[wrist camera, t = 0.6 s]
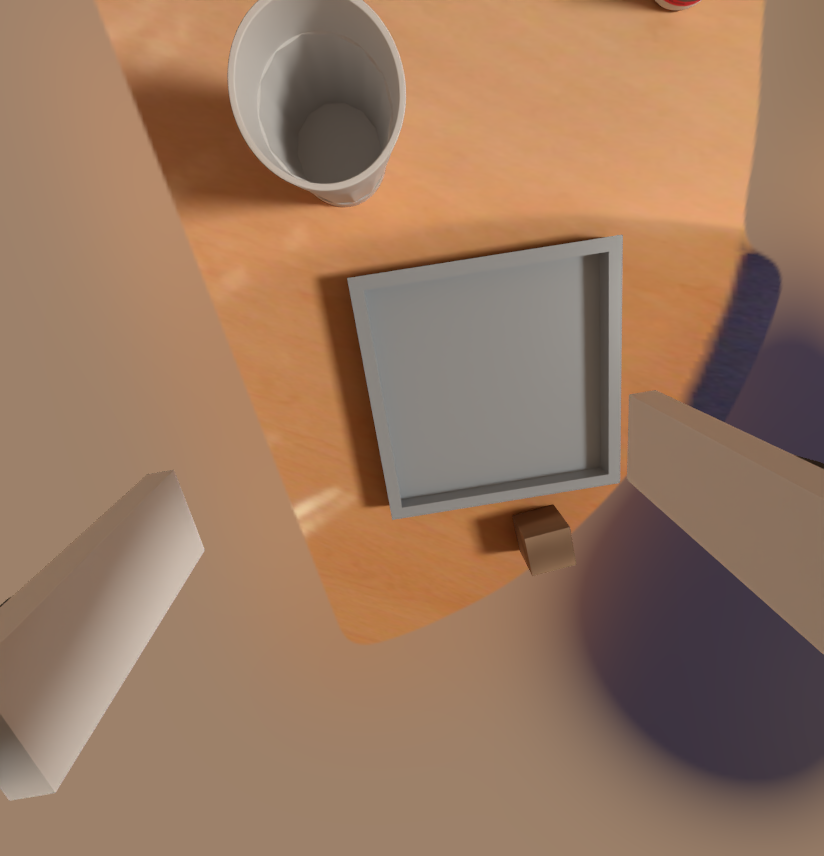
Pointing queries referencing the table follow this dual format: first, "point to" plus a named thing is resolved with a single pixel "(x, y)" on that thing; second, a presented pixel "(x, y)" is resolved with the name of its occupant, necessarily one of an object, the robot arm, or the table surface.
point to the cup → (318, 94)
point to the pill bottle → (677, 4)
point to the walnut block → (544, 540)
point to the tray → (495, 374)
